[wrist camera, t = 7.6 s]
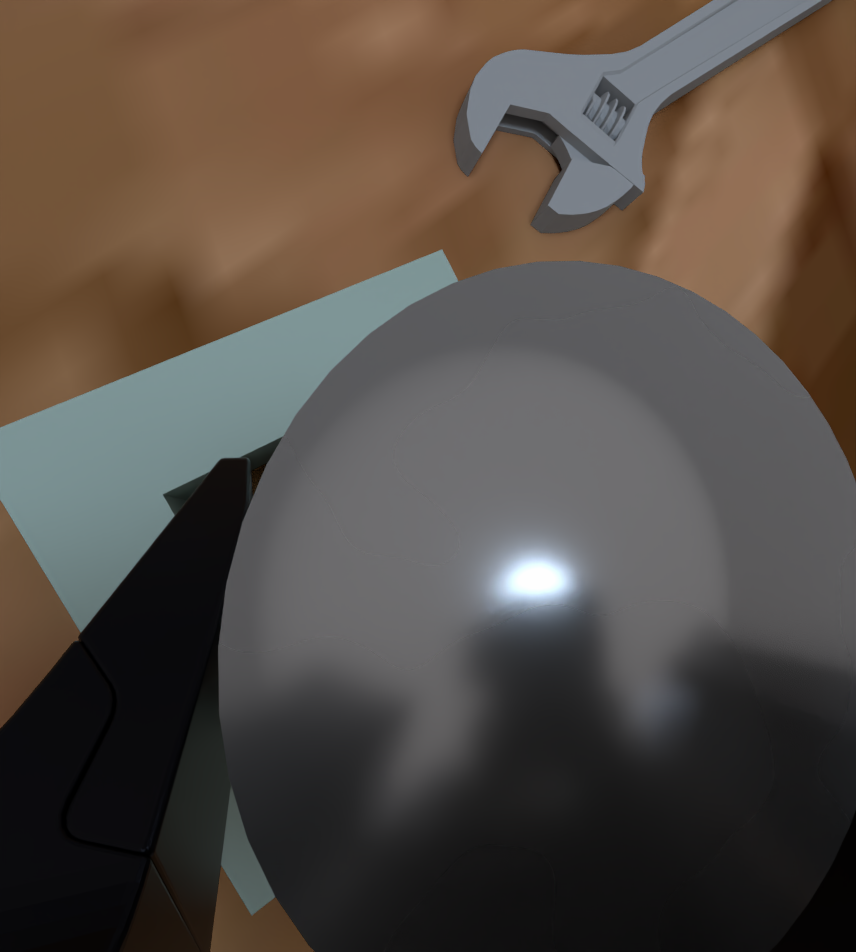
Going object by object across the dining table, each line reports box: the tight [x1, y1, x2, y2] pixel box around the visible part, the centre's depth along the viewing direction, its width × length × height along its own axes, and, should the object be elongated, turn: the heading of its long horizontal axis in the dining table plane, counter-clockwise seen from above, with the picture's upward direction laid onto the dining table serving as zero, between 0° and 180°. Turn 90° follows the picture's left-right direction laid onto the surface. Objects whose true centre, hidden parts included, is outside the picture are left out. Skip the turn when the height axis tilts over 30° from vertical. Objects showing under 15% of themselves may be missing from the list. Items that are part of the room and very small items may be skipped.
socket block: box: [0, 250, 458, 915], centre depth 14 cm, size 11×11×4 cm
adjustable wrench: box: [454, 0, 832, 233], centre depth 21 cm, size 25×6×2 cm, turn 125°
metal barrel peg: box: [218, 261, 856, 952], centre depth 9 cm, size 4×4×12 cm
